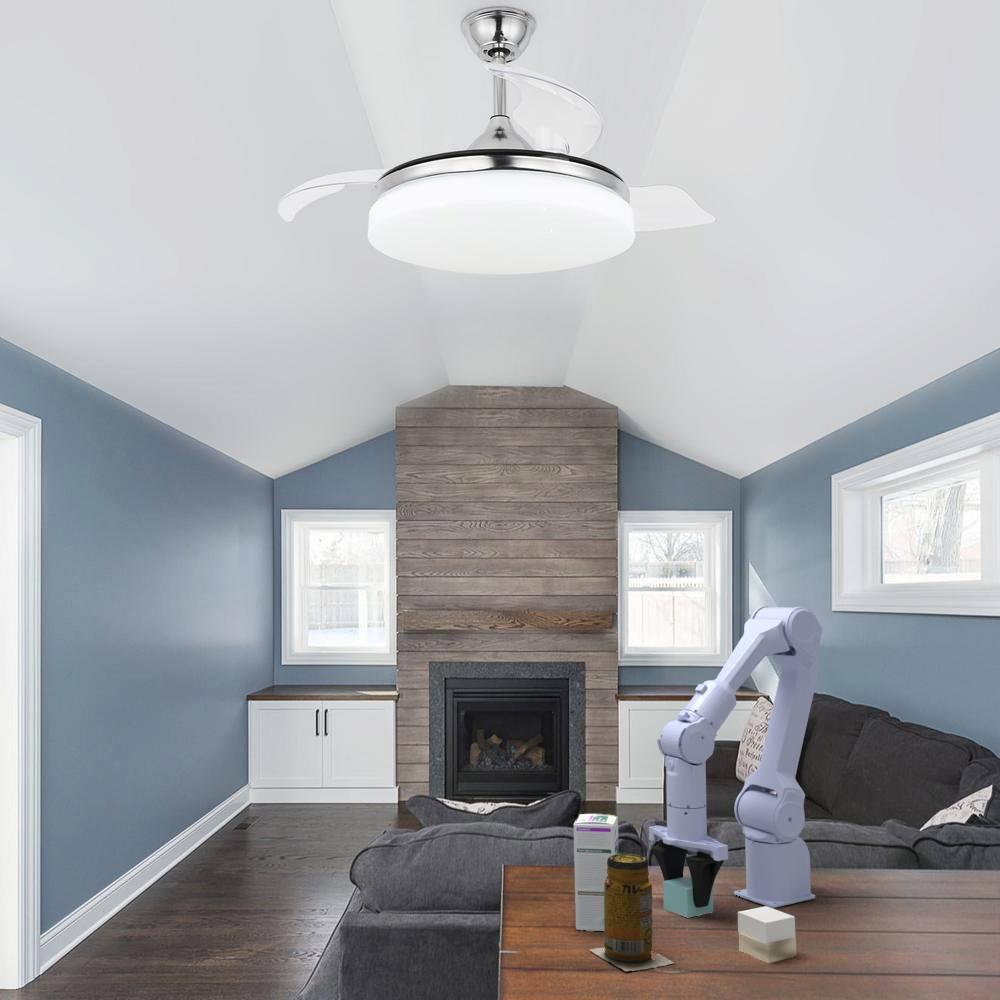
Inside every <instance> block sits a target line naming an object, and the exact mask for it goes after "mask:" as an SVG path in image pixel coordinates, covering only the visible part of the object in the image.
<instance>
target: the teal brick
mask: <svg viewBox="0 0 1000 1000" xmlns="http://www.w3.org/2000/svg"><path fill="white" fill-rule="evenodd" d="M662 884H663V885H662V886H663V889H662V891H663V894H662V896H663V897H662V898H663V909H664V908H665V909H667V910H669V911H672V912H675V913H677V914H679V915H682V916H684V917H687V918H689V917H692V916H695V915H700V914H704V913H709V912H713V913H714V886H713V887H712V891H711V895H710V900H709V904H708V906H705V907H700V908H697V907H695V904H694V900H693V887H692V879H691V875H690V876H683V877H682V878H676V879H671V880H666V881H664V880H663V881H662ZM669 911H668V912H669ZM679 915H678V916H679ZM684 917H683V918H684ZM689 919H690V918H689Z"/></svg>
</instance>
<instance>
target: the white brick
mask: <svg viewBox="0 0 1000 1000" xmlns="http://www.w3.org/2000/svg"><path fill="white" fill-rule="evenodd" d="M737 932H738V934H739V933H742V934H744V935H746V936H749V937H751V938H754V939H756V940H758V941H761V942H763V943H766V944H768V943H772V942H776V941H781V940H785V939H789V938H794V937H796V917H795V915H792V914H788V913H786V912H783V911H780V910H778V909H776V908H771V907H768V906H765V905H763V906H759V907H755V908H750V909H746V910H739V911H737Z"/></svg>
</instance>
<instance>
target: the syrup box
mask: <svg viewBox="0 0 1000 1000" xmlns="http://www.w3.org/2000/svg"><path fill="white" fill-rule="evenodd" d="M619 848H620V846H619V817H618V815H615V814H606V813H584V814H583V813H582V814H581V813H580V814H579V815H578V817H577V818H576V819H575V820H574V823H573V862H574V864H573V865H574V866H573V867H574V909H575V910H574V912H575V913H574V914H575V929H576V930H579V931H583V930H586V931H585V932H593V931H604V882H605V879H606V878H607V876H608V874H607V859H608V858H609V857H610V856H612V855H615V854H620V852H619V850H620V849H619Z"/></svg>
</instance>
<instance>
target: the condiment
mask: <svg viewBox="0 0 1000 1000" xmlns="http://www.w3.org/2000/svg"><path fill="white" fill-rule="evenodd" d="M649 863H650V862H649V860H648V858H646V857H645V856H643V855H639V854H636V853H635V854H632V853H619V854H615V855H612V856H610V857H609V858H608V859H607V874H608V876H607V878H606V879H605V882H604V932H603V933H604V934H603V935H604V938H603V939H604V944H603V945H604V947H595V948H590V949H589V951H590V952H592V953H593V954H595V955H596V956H598V957H599V958H601V959H603V960H604V961H606V962H610V964H612V965H614V966H615V967H617V968H619V969H621V970H623V971H624V972H630V971H631V972H634V971H641V970H647V969H652V968H653V969H656V968H658V967H662V966H664V967H665V966H668V965H671V964H672V965H673V964H675V962H674V961H672V960H671V959H668V958H667V957H665V956H663V955H662V954H659V953H657V952H656V953H657V954H656V956H659V957H656V956H655V960H651V959H652V958H651V956H652V955H651V952H652V951H653V949H652V948H653V922H654V921H653V893H652V892H653V886H652V881H651V880H650V878H649V875H650V872H649ZM604 949H605V950H604ZM602 950H603V951H602ZM650 961H651V962H650Z"/></svg>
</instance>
